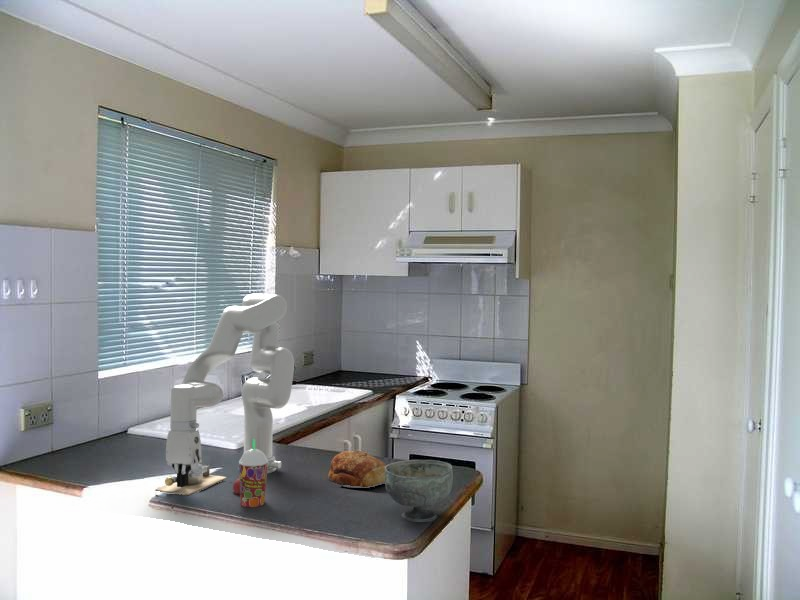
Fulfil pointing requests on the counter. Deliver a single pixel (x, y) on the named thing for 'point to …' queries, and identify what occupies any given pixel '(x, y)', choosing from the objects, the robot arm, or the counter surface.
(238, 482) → the fruit
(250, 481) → the smoothie
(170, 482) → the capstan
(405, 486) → the bowl
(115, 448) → the counter surface
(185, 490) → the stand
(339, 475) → the bread
